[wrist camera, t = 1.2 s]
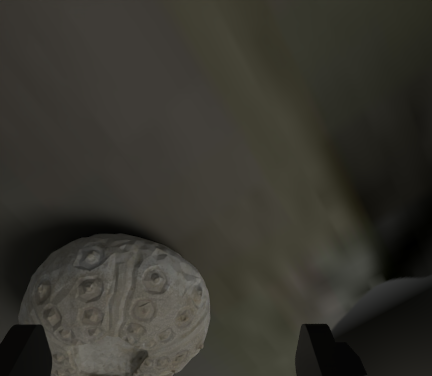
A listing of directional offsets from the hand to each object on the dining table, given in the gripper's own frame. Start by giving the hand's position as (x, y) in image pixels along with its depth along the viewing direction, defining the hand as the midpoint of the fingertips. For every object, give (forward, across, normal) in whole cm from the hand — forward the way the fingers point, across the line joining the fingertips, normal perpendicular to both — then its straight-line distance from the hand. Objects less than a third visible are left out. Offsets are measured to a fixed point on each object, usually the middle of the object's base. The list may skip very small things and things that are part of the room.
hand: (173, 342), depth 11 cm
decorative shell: (+22, +7, +17) cm, 29 cm away
